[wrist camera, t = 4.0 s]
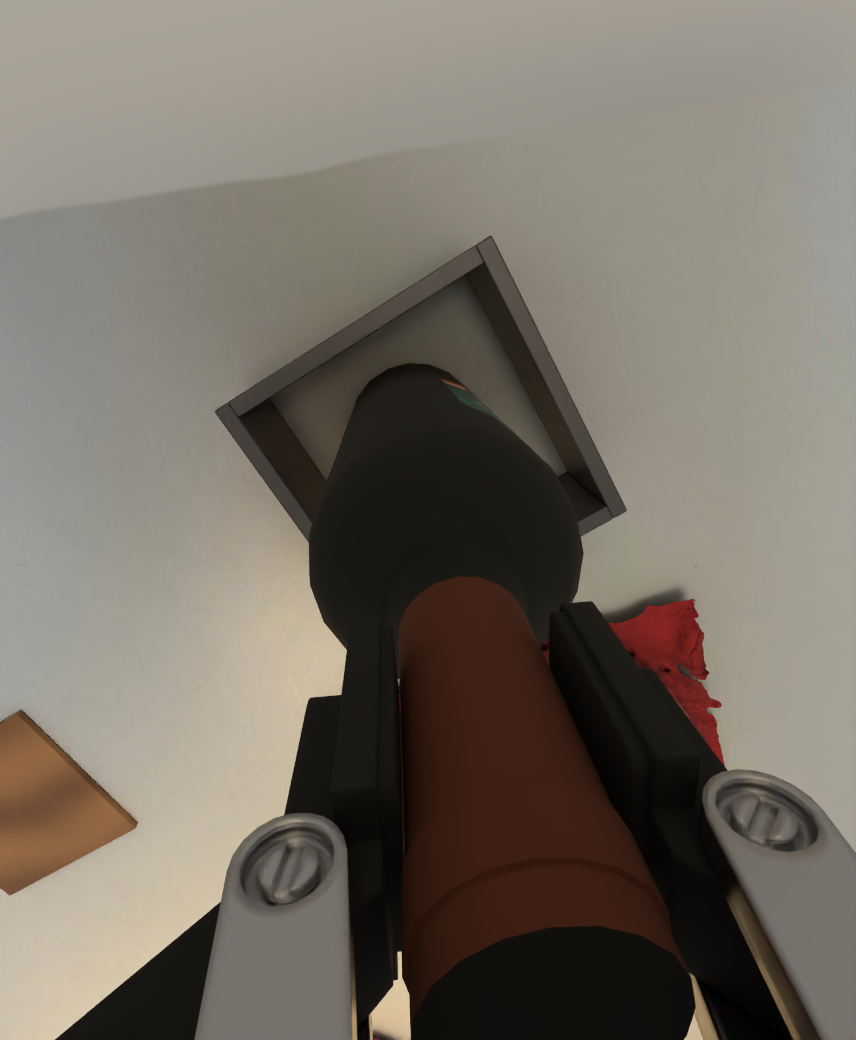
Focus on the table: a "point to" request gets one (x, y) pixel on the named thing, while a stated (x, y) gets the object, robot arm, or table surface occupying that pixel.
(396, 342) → the table surface
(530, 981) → the wine bottle
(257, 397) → the grey square tray frame
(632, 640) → the plate with food
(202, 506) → the table surface
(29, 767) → the cork mat
